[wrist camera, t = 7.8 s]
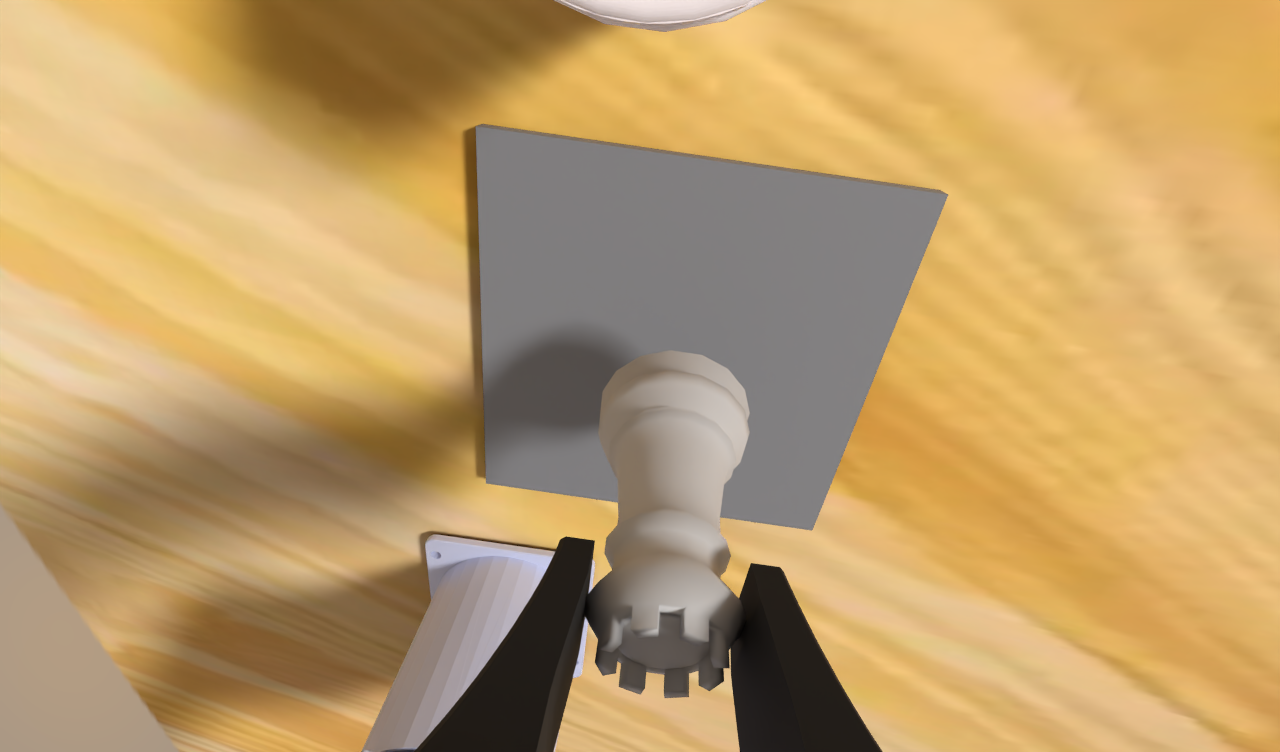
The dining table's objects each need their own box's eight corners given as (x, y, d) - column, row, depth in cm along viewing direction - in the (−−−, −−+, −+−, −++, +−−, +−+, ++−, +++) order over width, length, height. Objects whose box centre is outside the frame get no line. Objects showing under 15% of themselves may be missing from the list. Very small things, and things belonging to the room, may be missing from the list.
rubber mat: (809, 519, 24) (812, 530, 23) (490, 474, 24) (485, 483, 23) (940, 190, 17) (948, 194, 16) (482, 124, 17) (475, 126, 16)
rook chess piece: (751, 339, 15) (794, 598, 9) (745, 457, 18) (775, 726, 11) (593, 342, 16) (521, 590, 9) (610, 457, 18) (562, 714, 12)
